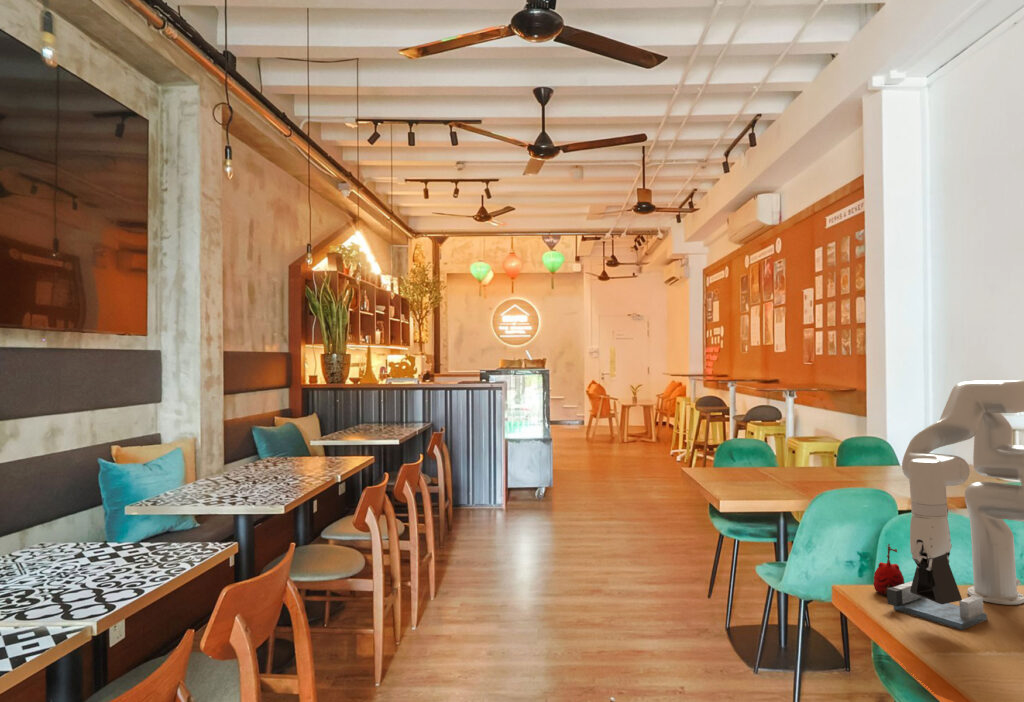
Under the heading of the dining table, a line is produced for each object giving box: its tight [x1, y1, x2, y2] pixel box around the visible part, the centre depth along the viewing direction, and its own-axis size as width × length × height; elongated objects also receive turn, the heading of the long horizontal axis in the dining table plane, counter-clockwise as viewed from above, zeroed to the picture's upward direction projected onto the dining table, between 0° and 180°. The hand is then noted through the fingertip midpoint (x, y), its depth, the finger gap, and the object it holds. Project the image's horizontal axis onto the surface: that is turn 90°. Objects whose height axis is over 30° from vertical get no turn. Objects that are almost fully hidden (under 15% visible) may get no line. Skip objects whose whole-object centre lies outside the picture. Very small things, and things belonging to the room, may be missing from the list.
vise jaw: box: [886, 580, 922, 607], centre depth 171 cm, size 14×2×4 cm, turn 119°
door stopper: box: [910, 552, 963, 604], centre depth 157 cm, size 9×6×12 cm, turn 15°
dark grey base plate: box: [893, 595, 988, 631], centre depth 165 cm, size 12×16×6 cm
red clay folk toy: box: [873, 543, 905, 597], centre depth 181 cm, size 8×7×15 cm
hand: (934, 581), depth 157 cm, fingers closed on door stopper, 6 cm apart
